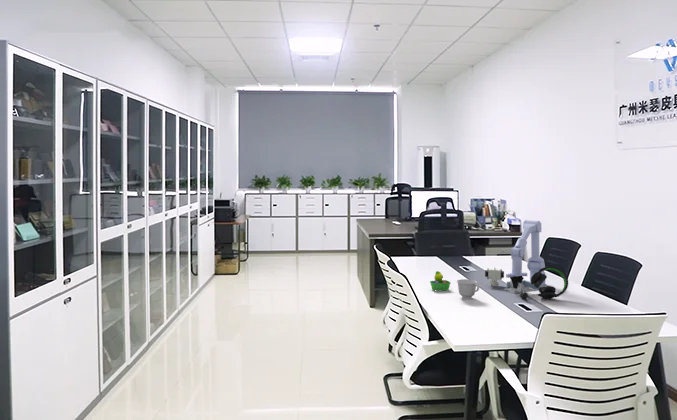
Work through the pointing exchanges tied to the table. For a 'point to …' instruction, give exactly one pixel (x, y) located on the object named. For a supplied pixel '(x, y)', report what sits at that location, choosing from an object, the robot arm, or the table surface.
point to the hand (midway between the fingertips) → (516, 288)
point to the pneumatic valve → (494, 275)
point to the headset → (546, 291)
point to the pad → (527, 289)
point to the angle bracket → (512, 289)
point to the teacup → (467, 288)
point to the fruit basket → (439, 282)
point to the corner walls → (527, 284)
